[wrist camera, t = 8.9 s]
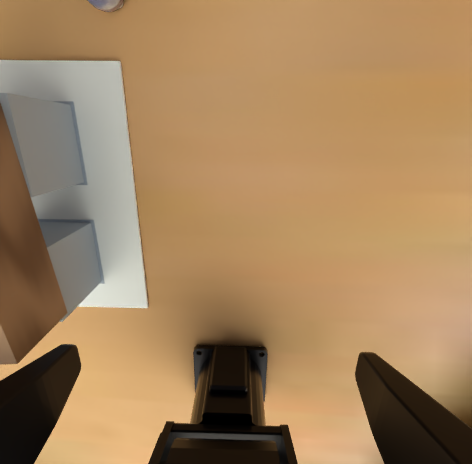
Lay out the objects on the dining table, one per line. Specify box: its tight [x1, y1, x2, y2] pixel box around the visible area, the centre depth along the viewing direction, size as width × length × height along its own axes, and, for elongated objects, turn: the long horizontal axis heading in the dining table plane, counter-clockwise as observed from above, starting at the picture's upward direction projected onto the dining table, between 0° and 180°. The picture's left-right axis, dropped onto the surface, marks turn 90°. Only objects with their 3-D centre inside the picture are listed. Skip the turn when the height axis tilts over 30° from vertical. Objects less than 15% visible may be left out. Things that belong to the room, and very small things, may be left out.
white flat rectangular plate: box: [0, 60, 149, 308], centre depth 20 cm, size 18×12×1 cm, turn 179°
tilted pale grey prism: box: [0, 93, 84, 197], centre depth 16 cm, size 5×5×5 cm
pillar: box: [39, 222, 101, 322], centre depth 19 cm, size 5×5×5 cm
